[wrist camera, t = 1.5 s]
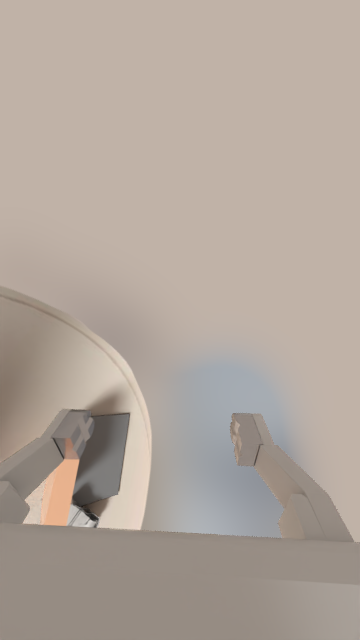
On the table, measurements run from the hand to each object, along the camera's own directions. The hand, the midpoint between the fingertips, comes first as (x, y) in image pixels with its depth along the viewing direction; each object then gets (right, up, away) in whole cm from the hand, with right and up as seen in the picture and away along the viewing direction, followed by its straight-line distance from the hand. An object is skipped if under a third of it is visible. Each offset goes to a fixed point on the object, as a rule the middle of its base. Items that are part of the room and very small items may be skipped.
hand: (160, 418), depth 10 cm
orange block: (-24, -24, +26) cm, 43 cm away
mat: (-18, -26, +30) cm, 44 cm away
